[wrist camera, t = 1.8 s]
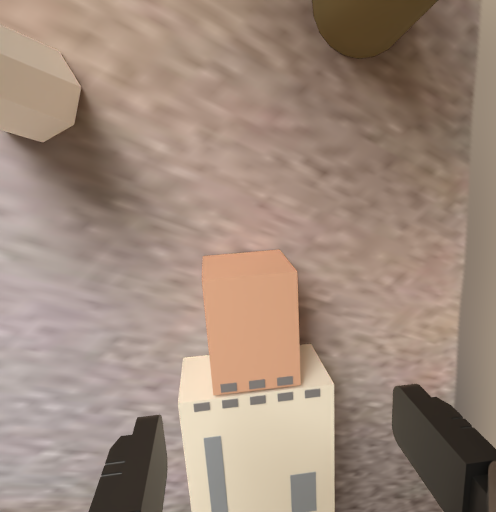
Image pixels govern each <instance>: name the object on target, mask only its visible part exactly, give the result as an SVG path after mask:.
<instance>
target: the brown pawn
mask: <svg viewBox="0 0 496 512" xmlns="http://www.w3.org/2000/svg"><path fill="white" fill-rule="evenodd" d="M437 1H438V0H312V3H313V16H314V19H315V21H316V24H317V27H318V29H319V32H320V34H321V35H322V36H323V38H324V39H325V40H326V41H327V43H328V44H329V45H330V46H331V47H332V48H334V49H335V50H337V51H338V52H340V53H341V54H343V55H345V56H349V57H354V58H358V59H360V58H368V57H374V56H376V55H378V54H380V53H382V52H384V51H386V50H388V49H389V48H390V47H391V46H392V45H393V44H394V43H395V42H396V41H397V40H398V39H399V38H400V37H401V36H402V35H403V34H404V33H405V32H406V31H407V30H408V29H409V28H410V27H411V26H412V25H413V24H414V23H415V22H416V21H418V20H419V19H420V18H421V17H422V16H423V15H424V14H425V13H426V12H427V11H428V10H429V9H430V8H431V7H432V6H433V5H434V4H435V3H436V2H437Z"/></svg>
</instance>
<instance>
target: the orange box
mask: <svg viewBox="0 0 496 512" xmlns="http://www.w3.org/2000/svg"><path fill="white" fill-rule="evenodd" d="M202 287H203V297H204V307H205V317H206V327H207V337H208V348H209V358H210V368H211V378H212V388H213V395H221V394H230V393H238V392H246V391H255V390H263V389H271V388H280V387H288V386H296V385H301V379H300V345H299V311H298V278H297V271H296V269H295V268H294V267H293V266H292V264H291V263H290V262H289V261H288V259H287V258H286V257H285V256H284V255H283V253H282V252H281V251H280V250H268V251H256V252H245V253H234V254H222V255H211V256H203V263H202Z"/></svg>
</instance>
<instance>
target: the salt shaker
mask: <svg viewBox="0 0 496 512" xmlns="http://www.w3.org/2000/svg"><path fill="white" fill-rule="evenodd" d="M80 91H81V86H80V84H79V83H78V81H77V79H76V78H75V76H74V74H73V73H72V71H71V69H70V68H69V66H68V65H67V63H66V61H65V60H64V58H63V56H62V55H61V53H60V52H59V50H57V49H55V48H53V47H50V46H48V45H46V44H44V43H41V42H39V41H37V40H35V39H32V38H30V37H28V36H26V35H23V34H21V33H19V32H17V31H15V30H12V29H10V28H8V27H6V26H3V25H1V24H0V130H2V131H5V132H8V133H12V134H15V135H19V136H22V137H26V138H29V139H32V140H36V141H39V142H45V141H46V140H48V139H50V138H52V137H53V136H55V135H57V134H59V133H61V132H62V131H64V130H66V129H68V128H69V127H71V126H73V125H74V123H75V118H76V113H77V107H78V102H79V97H80Z"/></svg>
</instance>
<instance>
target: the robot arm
mask: <svg viewBox="0 0 496 512" xmlns="http://www.w3.org/2000/svg"><path fill="white" fill-rule="evenodd" d="M392 429H393V434H394V437H395V440H396V442H397V444H398V445H399V447H400V448H401V450H402V451H403V453H404V454H405V456H406V457H407V458H408V460H409V461H410V463H411V464H412V466H413V467H414V469H415V470H416V472H417V473H418V475H419V476H420V477H421V479H422V480H423V482H424V483H425V485H426V486H427V488H428V489H429V491H430V492H431V493H432V495H433V496H434V498H435V499H436V501H437V502H438V504H439V505H440V507H441V508H442V510H443V511H444V512H496V449H495V448H494V447H493V446H492V445H491V444H490V443H489V442H488V441H487V440H486V439H485V438H484V437H483V436H482V435H481V434H480V433H479V432H478V431H477V430H476V429H475V428H472V426H471V424H470V423H469V422H467V420H465V419H463V417H462V416H461V415H460V414H459V413H458V412H457V411H456V410H455V409H454V408H453V407H452V406H451V405H449V404H448V403H446V402H444V401H442V400H441V399H439V398H437V397H432V398H431V397H430V396H429V394H428V393H427V392H426V391H425V390H424V389H423V388H422V387H421V386H420V385H418V384H411V385H402V386H396V387H395V388H394V390H393V409H392ZM101 475H102V476H101V477H100V480H99V483H98V486H97V489H96V492H95V495H94V498H93V501H92V504H91V507H90V509H89V512H162V510H163V502H164V494H165V486H166V479H167V452H166V444H165V437H164V430H163V423H162V417H161V415H153V416H145V417H138V418H137V420H136V423H135V427H134V431H133V434H132V435H127V436H121V437H120V438H119V439H118V440H117V441H116V443H115V444H114V445H113V446H112V447H111V449H110V451H109V454H108V457H107V460H106V463H105V466H104V468H103V471H102V474H101Z"/></svg>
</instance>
